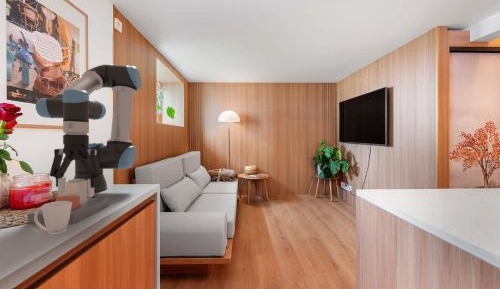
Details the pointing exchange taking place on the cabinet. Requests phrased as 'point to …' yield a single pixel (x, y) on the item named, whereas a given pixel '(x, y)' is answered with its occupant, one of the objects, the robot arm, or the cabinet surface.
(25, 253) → the cabinet surface
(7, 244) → the cabinet surface
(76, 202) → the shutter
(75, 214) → the socket
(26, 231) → the cabinet surface
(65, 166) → the robot arm
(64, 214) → the cup
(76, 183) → the plug
